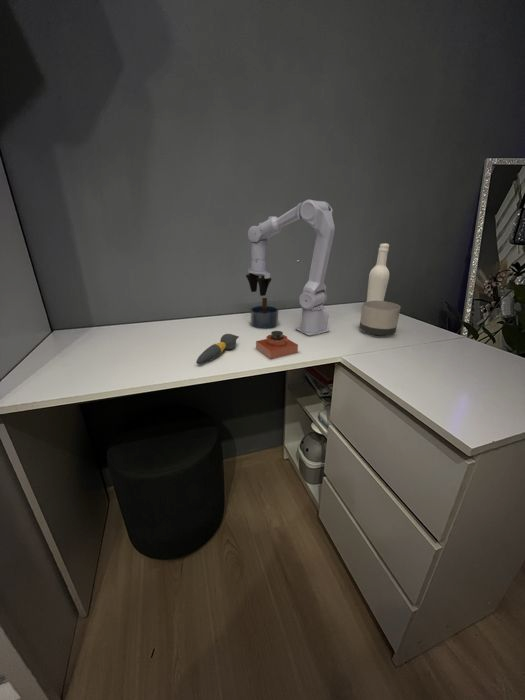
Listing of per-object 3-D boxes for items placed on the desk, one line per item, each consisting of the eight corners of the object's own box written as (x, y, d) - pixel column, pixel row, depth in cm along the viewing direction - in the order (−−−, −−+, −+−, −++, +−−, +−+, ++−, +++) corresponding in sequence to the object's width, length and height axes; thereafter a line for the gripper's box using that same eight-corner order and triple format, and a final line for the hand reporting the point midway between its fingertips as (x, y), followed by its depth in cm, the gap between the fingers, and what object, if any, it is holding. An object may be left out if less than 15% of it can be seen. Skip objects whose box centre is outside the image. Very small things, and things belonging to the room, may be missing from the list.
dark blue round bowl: (268, 318, 126) (269, 304, 123) (283, 325, 117) (283, 311, 115) (246, 322, 121) (245, 308, 118) (259, 330, 112) (259, 315, 110)
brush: (266, 319, 122) (267, 296, 118) (274, 323, 118) (274, 299, 114) (254, 321, 120) (254, 297, 116) (261, 325, 115) (262, 300, 111)
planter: (372, 324, 120) (376, 299, 115) (402, 333, 110) (408, 306, 106) (351, 330, 113) (355, 303, 109) (381, 341, 103) (386, 312, 99)
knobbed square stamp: (281, 343, 101) (282, 330, 99) (297, 352, 94) (298, 339, 92) (255, 348, 96) (255, 335, 94) (270, 359, 89) (270, 345, 87)
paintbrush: (208, 369, 83) (207, 353, 81) (193, 366, 84) (192, 349, 82) (242, 345, 99) (241, 330, 97) (229, 342, 101) (228, 328, 99)
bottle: (359, 313, 134) (370, 242, 121) (377, 313, 134) (389, 242, 122) (367, 319, 126) (379, 244, 114) (385, 318, 127) (399, 244, 115)
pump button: (278, 335, 96) (278, 329, 95) (284, 339, 93) (285, 333, 92) (268, 337, 94) (269, 331, 93) (275, 341, 91) (275, 335, 90)
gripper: (241, 257, 121) (241, 291, 126) (258, 261, 109) (258, 298, 115) (256, 256, 124) (256, 289, 130) (274, 260, 113) (273, 296, 118)
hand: (258, 293), depth 122 cm, fingers open, 7 cm apart
